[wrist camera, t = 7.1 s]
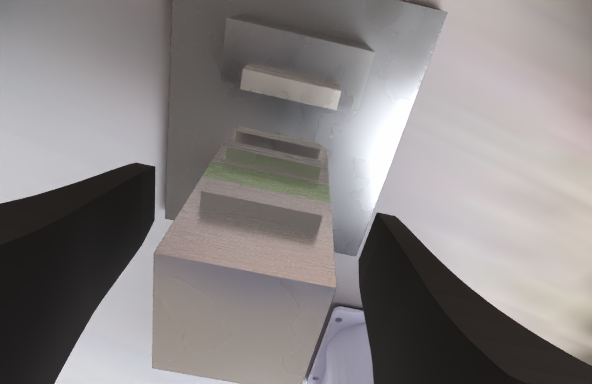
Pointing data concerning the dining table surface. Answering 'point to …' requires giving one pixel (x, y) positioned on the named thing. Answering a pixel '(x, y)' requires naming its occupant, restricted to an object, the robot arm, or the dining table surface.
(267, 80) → the stand
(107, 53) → the dining table surface
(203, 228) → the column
